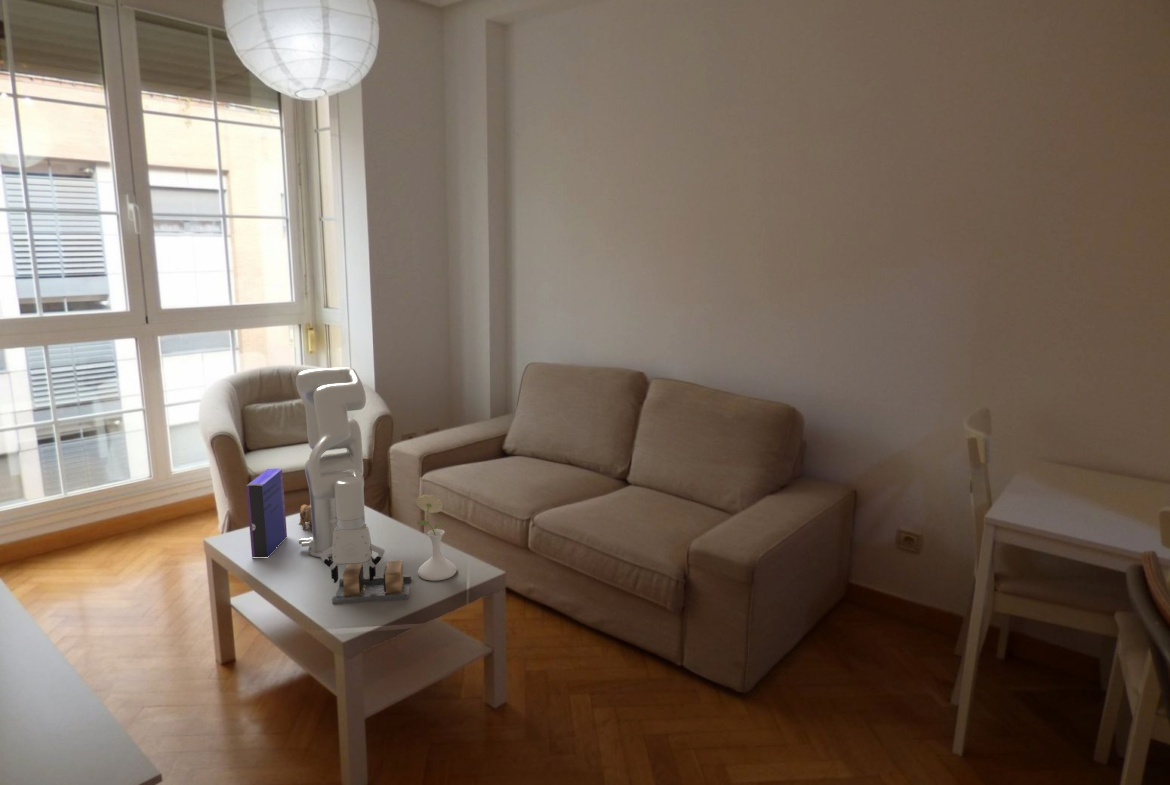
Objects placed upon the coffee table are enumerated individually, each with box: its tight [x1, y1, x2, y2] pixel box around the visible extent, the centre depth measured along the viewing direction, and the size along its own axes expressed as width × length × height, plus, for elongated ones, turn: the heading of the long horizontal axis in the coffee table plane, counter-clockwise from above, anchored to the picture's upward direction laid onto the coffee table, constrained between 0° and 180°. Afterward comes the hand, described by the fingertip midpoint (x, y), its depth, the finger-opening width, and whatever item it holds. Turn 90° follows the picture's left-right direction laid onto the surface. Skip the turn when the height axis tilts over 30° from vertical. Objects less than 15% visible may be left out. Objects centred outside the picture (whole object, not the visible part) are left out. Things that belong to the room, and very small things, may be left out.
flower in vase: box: [415, 494, 457, 582], centre depth 222 cm, size 13×11×25 cm
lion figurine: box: [298, 504, 312, 531], centre depth 262 cm, size 15×5×9 cm, turn 37°
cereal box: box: [245, 468, 288, 558], centre depth 242 cm, size 17×5×24 cm, turn 2°
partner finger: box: [383, 560, 404, 593], centre depth 212 cm, size 5×8×7 cm, turn 8°
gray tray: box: [331, 574, 412, 605], centre depth 212 cm, size 20×12×2 cm, turn 98°
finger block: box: [342, 563, 365, 596], centre depth 210 cm, size 4×8×7 cm, turn 8°
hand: (354, 579), depth 210 cm, fingers open, 9 cm apart
